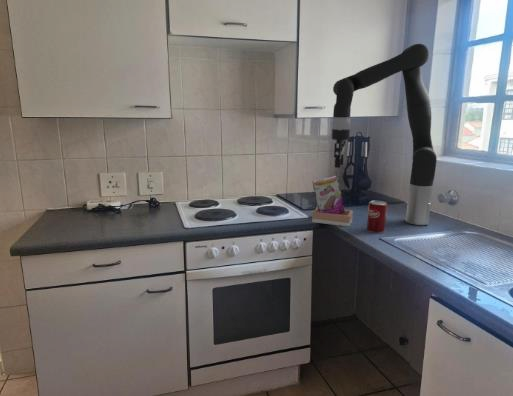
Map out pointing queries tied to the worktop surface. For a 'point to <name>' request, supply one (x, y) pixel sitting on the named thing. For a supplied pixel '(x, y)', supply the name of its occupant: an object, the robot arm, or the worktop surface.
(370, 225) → the soda can
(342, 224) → the tan flat open box
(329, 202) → the candy bar box
